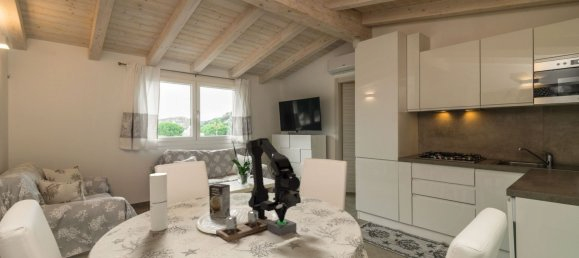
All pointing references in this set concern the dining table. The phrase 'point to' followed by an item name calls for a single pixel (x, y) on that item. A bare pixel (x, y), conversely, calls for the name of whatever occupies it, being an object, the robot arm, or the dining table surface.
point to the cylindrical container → (158, 201)
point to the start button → (281, 223)
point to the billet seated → (231, 225)
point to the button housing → (281, 227)
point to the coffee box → (219, 200)
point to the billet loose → (252, 218)
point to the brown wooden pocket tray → (241, 230)
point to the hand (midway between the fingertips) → (281, 221)
